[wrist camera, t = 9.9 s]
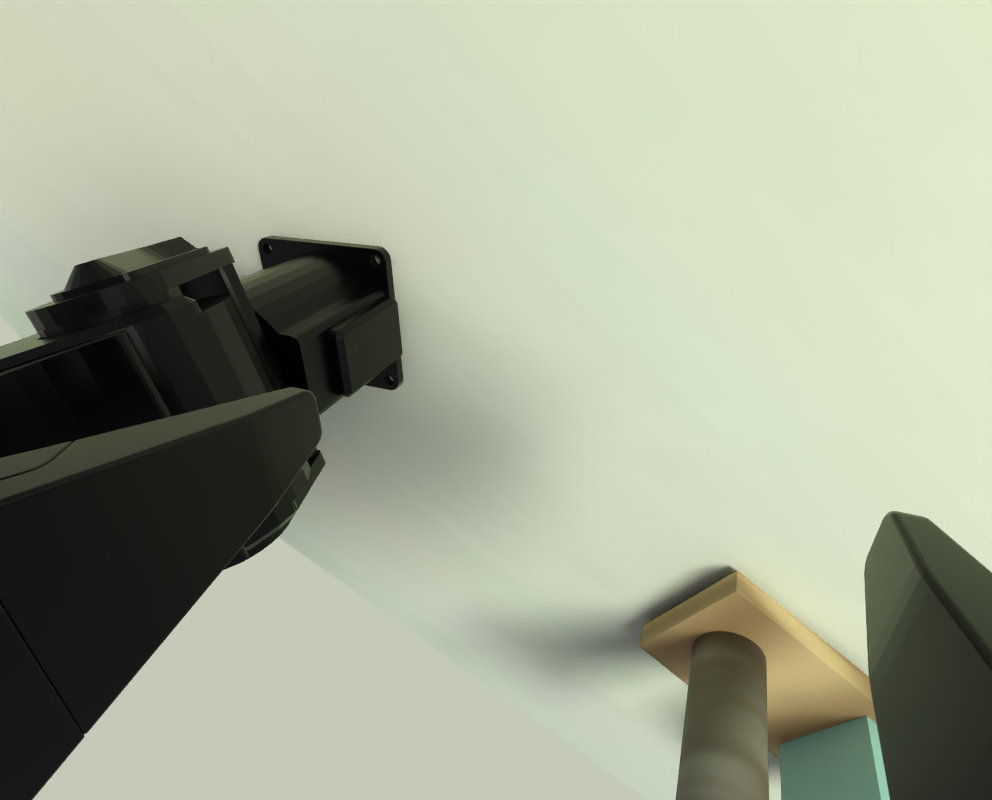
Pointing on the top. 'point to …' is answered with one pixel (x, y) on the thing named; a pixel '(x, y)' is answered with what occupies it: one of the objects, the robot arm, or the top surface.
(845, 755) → the cube
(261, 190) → the top surface
